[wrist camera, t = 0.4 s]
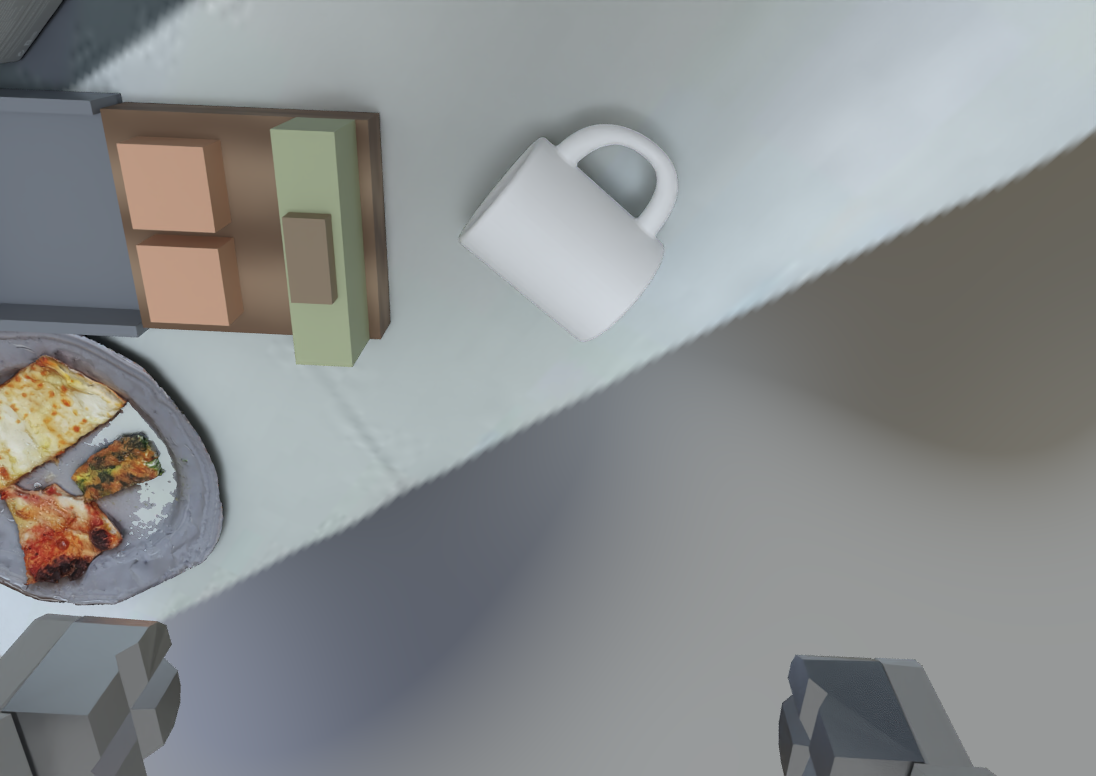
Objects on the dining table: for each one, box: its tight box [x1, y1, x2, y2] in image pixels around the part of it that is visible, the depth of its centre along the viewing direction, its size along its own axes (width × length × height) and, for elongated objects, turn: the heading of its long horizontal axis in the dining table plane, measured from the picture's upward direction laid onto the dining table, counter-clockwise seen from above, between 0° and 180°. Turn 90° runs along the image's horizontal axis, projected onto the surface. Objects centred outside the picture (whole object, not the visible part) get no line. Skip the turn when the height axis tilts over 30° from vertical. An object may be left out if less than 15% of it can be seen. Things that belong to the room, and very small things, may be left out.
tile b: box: [136, 234, 244, 326], centre depth 52 cm, size 5×5×2 cm
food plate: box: [0, 331, 224, 605], centre depth 62 cm, size 25×23×4 cm
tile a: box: [116, 136, 231, 233], centre depth 49 cm, size 5×5×2 cm
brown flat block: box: [100, 102, 390, 339], centre depth 53 cm, size 14×16×3 cm
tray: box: [0, 89, 149, 337], centre depth 53 cm, size 15×13×4 cm
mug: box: [459, 124, 678, 342], centre depth 49 cm, size 12×10×8 cm
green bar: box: [270, 117, 370, 367], centre depth 49 cm, size 14×4×6 cm, turn 178°
